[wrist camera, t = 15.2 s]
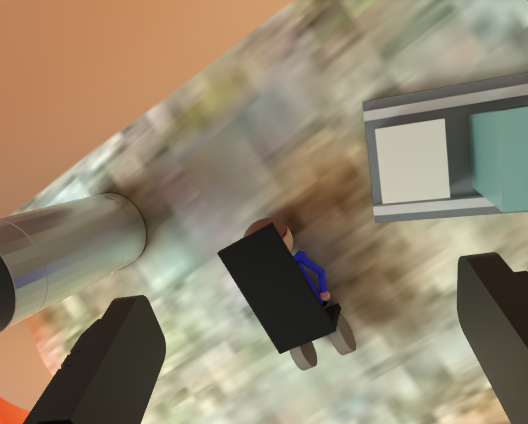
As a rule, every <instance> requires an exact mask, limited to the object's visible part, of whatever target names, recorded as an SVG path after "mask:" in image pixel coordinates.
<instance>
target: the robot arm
mask: <svg viewBox="0 0 528 424" xmlns="http://www.w3.org/2000/svg"><path fill="white" fill-rule="evenodd" d="M145 243H146V228H145V224H144V221H143V218H142V216H141V214H140V212H139V211H138V210H137V208H136V207H135V206H134V205H133V204H132V203H131V202H130V201H129V200H128V199H126V198H125V197H123V196H121V195H118V194H114V193H103V194H99V195H95V196H91V197H87V198H83V199H78V200H74V201H69V202H65V203H61V204H57V205H53V206H49V207H44V208H40V209H36V210H32V211H28V212H24V213H20V214H15V215H11V216H7V217H3V218H0V332H1V331H3V330H5V329H7V328H9V327H11V326H12V325H14V324H16V323H18V322H20V321H22V320H24V319H26V318H28V317H30V316H32V315H33V314H35V313H37V312H39V311H41V310H43V309H44V308H46V307H48V306H50V305H52V304H54V303H56V302H58V301H61V300H63V299H65V298H67V297H69V296H71V295H72V294H74V293H76V292H78V291H80V290H82V289H84V288H86V287H88V286H89V285H91V284H93V283H95V282H97V281H99V280H101V279H103V278H105V277H107V276H108V275H110V274H112V273H114V272H116V271H118V270H119V269H121V268H123V267H124V266H126V265H128V264H130V263H132V262H134V261H135V260H136V259H137V258H139V257H140V255H141V253H142V252H143V250H144V247H145ZM457 312H458V318H459V322H460V325H461V328H462V330H463V332H464V334H465V336H466V338H467V340H468V342H469V344H470V346H471V348H472V350H473V352H474V354H475V355H476V357H477V359H478V361H479V363H480V365H481V367H482V369H483V371H484V373H485V375H486V376H487V378H488V380H489V382H490V384H491V386H492V388H493V390H494V392H495V394H496V396H497V397H498V399H499V401H500V403H501V405H502V407H503V409H504V411H505V413H506V415H507V416H508V418H509V420H510V422H511V424H528V272H527V271H520V272H513V271H512V270H511V268H510V267H509V266H508V265H507V264H506V262H505V261H504V260H503V259H502V258H501V257H500V255H499V254H497V253H495V252H491V253H483V254H475V255H467V256H461V257H460V258H459V260H458V280H457ZM70 352H71V353H70V355H68V356H67V357H66V359H65V360H64V362H63V363H62V365H61V369H58V371H57V372H56V374H55V375H54V377H53V378H52V380H51V382H50V383H49V385H48V386H47V388H46V389H45V391H44V392H43V394H42V395H41V397H40V398H39V400H38V401H37V403H36V404H35V406H34V407H33V409H32V410H31V412H30V413H29V415H28V416H27V418H26V419H25V421H24V423H23V424H141V421H142V418H143V416H144V413H145V410H146V408H147V405H148V402H149V400H150V397H151V394H152V391H153V389H154V386H155V383H156V381H157V378H158V375H159V373H160V370H161V367H162V365H163V362H164V359H165V354H166V342H165V337H164V335H163V332H162V330H161V328H160V325H159V323H158V321H157V318H156V316H155V314H154V312H153V309H152V307H151V305H150V302H149V300H148V299H147V297H146V296H144V295H138V296H130V297H122V298H116V299H114V300H113V301H112V302H111V304H110V305H109V307H108V309H107V310H106V312H105V313H104V315H103V317H102V318H101V319H98V320H97V321H95V322H94V323H93V324H92V325H91V326H90V327H89V328H88V329H87V330H86V331H85V332H84V333H82V334H81V336H80V337H79V339H78V340H77V342H76V343H75V345H74V346H73V348H72V349H71V351H70Z"/></svg>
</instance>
